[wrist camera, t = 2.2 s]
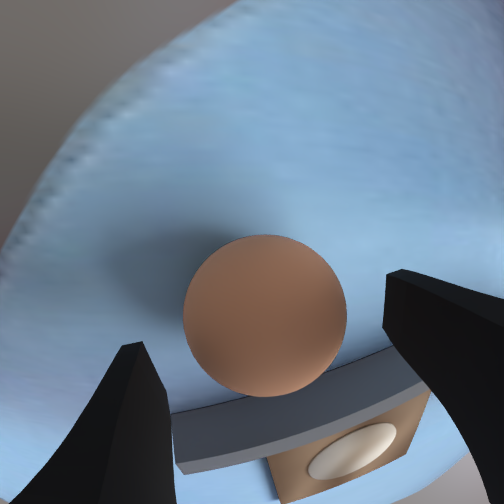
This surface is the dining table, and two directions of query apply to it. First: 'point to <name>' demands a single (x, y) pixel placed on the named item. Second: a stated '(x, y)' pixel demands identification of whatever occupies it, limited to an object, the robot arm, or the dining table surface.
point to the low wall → (293, 414)
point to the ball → (264, 315)
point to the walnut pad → (346, 452)
